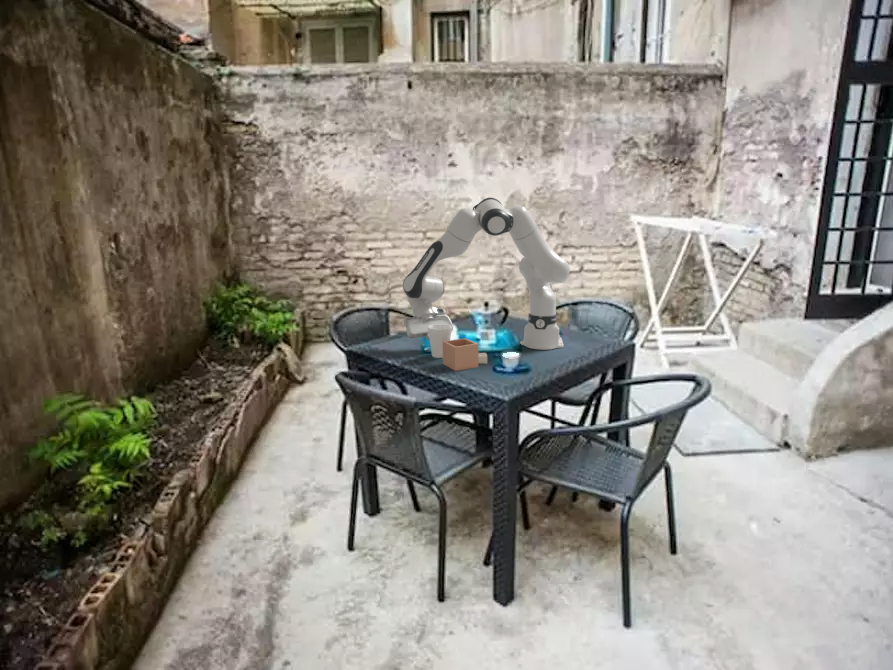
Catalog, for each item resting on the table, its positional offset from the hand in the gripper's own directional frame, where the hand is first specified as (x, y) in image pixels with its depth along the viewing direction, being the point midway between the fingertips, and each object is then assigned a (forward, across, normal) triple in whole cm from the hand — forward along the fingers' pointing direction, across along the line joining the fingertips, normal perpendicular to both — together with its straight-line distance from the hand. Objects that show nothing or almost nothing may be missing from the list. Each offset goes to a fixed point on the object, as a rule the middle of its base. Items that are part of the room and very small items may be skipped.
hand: (435, 343), depth 245 cm
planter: (+18, 0, -12) cm, 22 cm away
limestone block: (+18, +9, -11) cm, 23 cm away
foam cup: (+7, 0, 0) cm, 7 cm away
